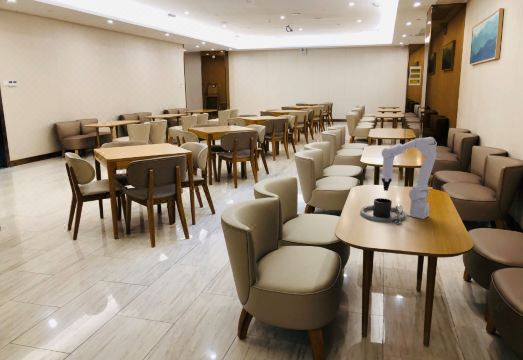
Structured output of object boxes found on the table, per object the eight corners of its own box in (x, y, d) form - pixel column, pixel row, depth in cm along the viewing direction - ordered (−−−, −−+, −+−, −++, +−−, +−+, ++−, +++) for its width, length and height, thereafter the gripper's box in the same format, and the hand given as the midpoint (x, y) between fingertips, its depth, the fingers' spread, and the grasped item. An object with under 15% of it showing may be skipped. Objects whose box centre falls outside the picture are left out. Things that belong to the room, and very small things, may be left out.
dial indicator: (402, 224, 215) (404, 206, 213) (397, 225, 214) (399, 206, 212) (397, 221, 220) (398, 203, 217) (392, 222, 219) (393, 203, 216)
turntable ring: (412, 214, 230) (413, 211, 230) (392, 225, 213) (393, 221, 213) (373, 205, 247) (373, 202, 246) (352, 214, 230) (352, 211, 229)
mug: (392, 213, 233) (393, 198, 231) (389, 219, 222) (390, 203, 220) (375, 211, 237) (376, 196, 235) (371, 217, 226) (372, 201, 224)
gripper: (380, 165, 251) (379, 186, 254) (380, 170, 237) (378, 192, 240) (392, 166, 249) (391, 187, 252) (393, 171, 235) (391, 193, 238)
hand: (385, 190), depth 246 cm, fingers closed
